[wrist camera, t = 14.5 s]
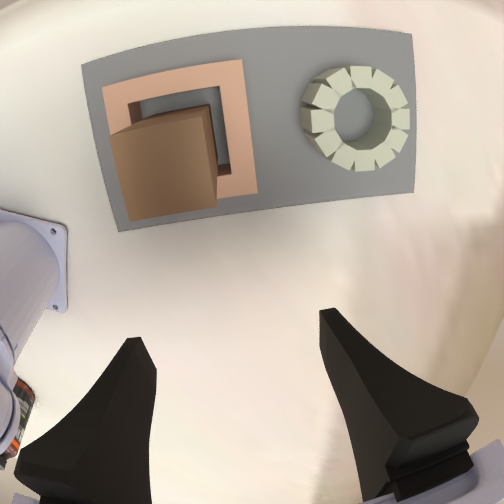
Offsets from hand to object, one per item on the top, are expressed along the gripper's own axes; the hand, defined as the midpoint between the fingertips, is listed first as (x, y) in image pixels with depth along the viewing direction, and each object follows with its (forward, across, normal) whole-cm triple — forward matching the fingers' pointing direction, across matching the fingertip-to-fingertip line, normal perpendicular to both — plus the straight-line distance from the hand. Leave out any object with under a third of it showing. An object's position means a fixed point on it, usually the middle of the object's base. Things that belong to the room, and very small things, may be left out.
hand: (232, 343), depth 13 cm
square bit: (+9, +1, -7) cm, 12 cm away
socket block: (+10, -3, -7) cm, 13 cm away
